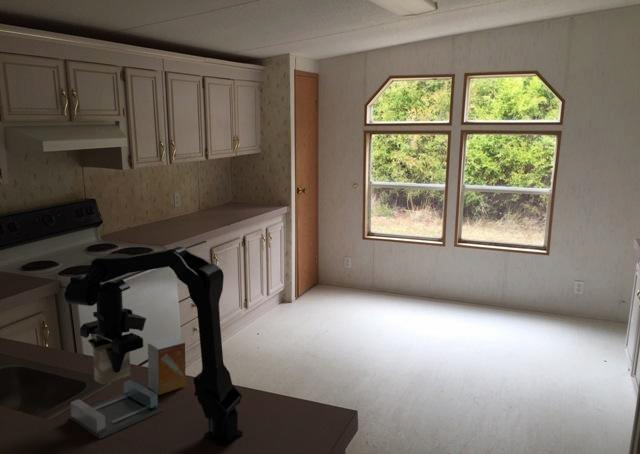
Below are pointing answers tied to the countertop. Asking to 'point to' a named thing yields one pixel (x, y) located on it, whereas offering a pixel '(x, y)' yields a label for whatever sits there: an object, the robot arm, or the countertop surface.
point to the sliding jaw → (140, 394)
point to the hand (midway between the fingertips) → (112, 369)
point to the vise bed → (110, 414)
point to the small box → (166, 365)
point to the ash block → (108, 366)
